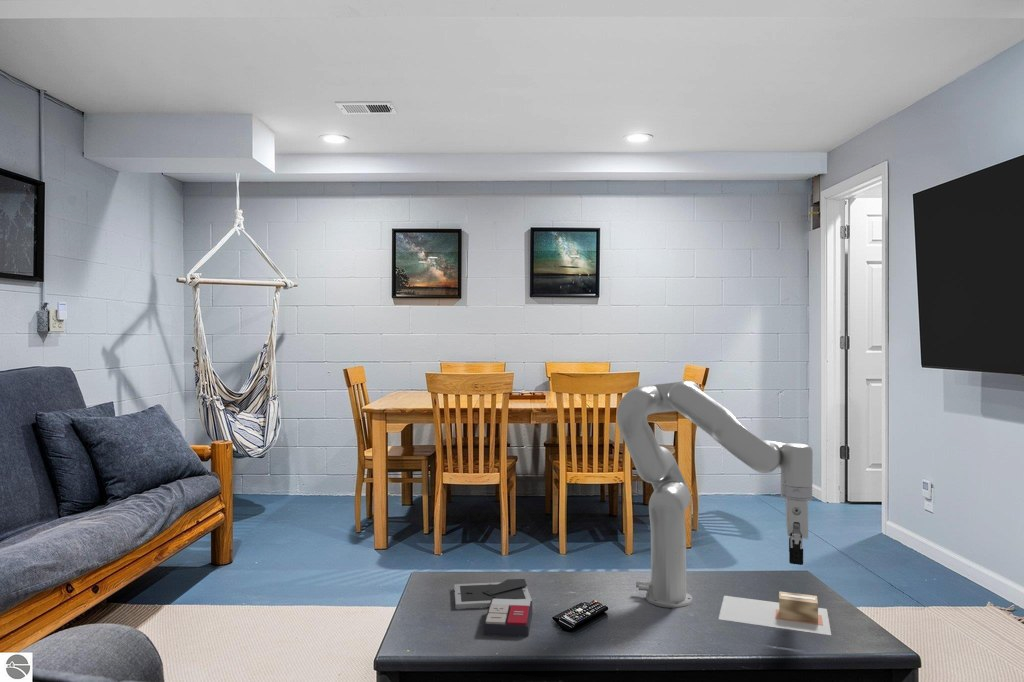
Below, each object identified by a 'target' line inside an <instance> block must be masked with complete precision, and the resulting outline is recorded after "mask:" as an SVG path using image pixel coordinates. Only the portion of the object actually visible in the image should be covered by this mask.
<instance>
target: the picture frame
mask: <svg viewBox="0 0 1024 682" xmlns="http://www.w3.org/2000/svg"><path fill="white" fill-rule="evenodd" d="M453 587H454V588H453V590H454V591H455V592H454V602H455V610H456V609H457V610H465V609H464V608H479V609H486V608H485V607H489V605H490V602H491V600H492V599H519V600H530V601H532V602H533V599H532V597H531V594H530V592H529V590H528V584H527V582H526V579H525V578H513V579H506V580H504V581H501V582H498V581H497V582H479V583H478V582H477V583H475V582H474V583H456V584H455V583H454V585H453ZM481 607H482V608H481Z"/></svg>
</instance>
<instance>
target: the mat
mask: <svg viewBox="0 0 1024 682" xmlns="http://www.w3.org/2000/svg"><path fill="white" fill-rule="evenodd" d="M828 613H829V612H828V609H827V608H823V607H818V623H811V622H804V621H796V620H789V619H782V618H779V601H778V602H776V601H769V600H760V599H755V598H754V599H753V598H745V597H737V596H730V595H723V599H722V603H721V607H720V611H719V615H718V620H719V621H720V620H721V621H725V622H726V621H727V622H734V623H742V624H747V625H755V626H763V627H769V628H775V629H776V628H777V629H783V630H791V631H798V632H805V633H812V634H819V635H825V636H832V632H831V624H830V619H829V615H828Z"/></svg>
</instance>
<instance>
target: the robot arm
mask: <svg viewBox="0 0 1024 682" xmlns="http://www.w3.org/2000/svg"><path fill="white" fill-rule="evenodd" d="M671 412H677V413H679V414H680V415H682V416H683V417H685V418H686V419H687V420H688V421H690V422H691V423H693V424H694V425H695V426H696V427H698V428H699V429H701V430H702V431H704V432H705V433H707V434H708V435H709V436H710V437H711V438H712V439H713V440H714V441H716V443H718V444H719V445H721V446H722V447H723V448H724V449H725V450H727V451H728V452H729V453H730V454H732V456H734V457H736V458H737V459H738V460H739V461H741V462H742V463H744V465H746V466H747V467H749V468H751V469H752V470H754V471H755V472H758V473H761V474H769V473H772V472H774V471H775V470H776V469H778V468H779V469H780V497H781V498H782V499H785V526H786V534H787V537H788V555H789V557H788V558H789V559H788V561H789V564H791V565H799V566H803V565H804V548H803V539H804V540H805V541H808V540H809V501H812V500H813V461H814V460H813V456H814V454H813V449H812V447H811V446H810V445H809V444H805V443H797V442H790V443H788V442H787V443H784V442H779V441H773V440H767V439H761V438H759V437H758V436H757V435H755V434H754V433H752V432H751V431H750V430H749V429H747V427H745V426H743V425H742V424H741V422H739V421H738V419H737V417H736V416H735V415H734V413H733V412H732V411H730V410H729V409H728V408H726V407H725V406H724V405H722V404H721V403H720V402H717V401H716V400H715V399H714V398H712V397H711V396H709V395H708V394H707V393H705V392H703V391H702V389H701V387H700V386H699V385H698V384H697V383H696V382H694V381H691V380H681V381H676V382H667V383H666V382H665V383H660V384H659V383H658V384H647V385H639V386H636V387H634V388H632V389H630V390H628V392H626V393H625V394H624V395H623V397H622V398H621V399H620V401H619V404H618V405H617V409H616V422H617V426H618V429H619V432H620V434H621V436H622V438H623V441H624V443H625V445H626V448H627V449H626V450H627V451H628V453H629V456H630V457H631V460H632V463H633V465H634V467H635V469H636V472H637V474H638V476H639V478H640V479H641V480H642V481H644V482H646V483H648V484H651V486H652V488H653V491H652V493H651V495H650V498H649V501H648V514H649V523H650V525H649V526H650V527H649V528H650V571H651V572H650V578H651V580H647V581H643V580H636V582H635V587H636V588H638V591H646V592H645V599H646V601H647V602H648V603H649V604H651V605H654V606H656V607H660V608H661V607H662V608H668V609H673V608H682V607H687V606H689V605H691V604H692V603H693V596H692V595H691V594H690V593H688V591H687V533H686V532H687V531H686V522H685V521H686V520H685V514H686V513H685V512H686V510H687V509H688V507H689V505H690V504H691V493H690V489H689V487H688V485H687V482H686V480H685V477H684V476H683V474H682V472H681V470H680V466H679V465H678V463H677V460H676V458H675V457H674V455H673V454H672V452H671V451H670V450H669V449H668V448H666V447H665V446H662V445H659V443H658V440H657V438H656V436H655V433H654V431H653V429H652V426H650V425H649V424H650V423H649V421H648V416H650V415H652V414H653V415H654V414H660V413H671Z"/></svg>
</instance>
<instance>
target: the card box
mask: <svg viewBox="0 0 1024 682" xmlns="http://www.w3.org/2000/svg"><path fill="white" fill-rule="evenodd" d="M778 597H779V598H778V603H779V618H782V619H789V620H796V621H804V622H811V623H818V608H819V603H818V601H819V599H818V596H817V595H812V594H803V593H796V592H795V593H794V592H786V591H779V592H778Z"/></svg>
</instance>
